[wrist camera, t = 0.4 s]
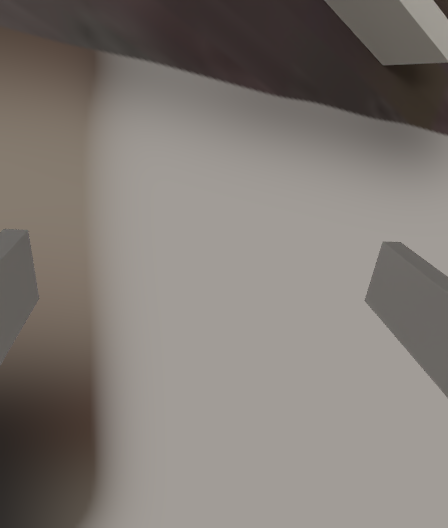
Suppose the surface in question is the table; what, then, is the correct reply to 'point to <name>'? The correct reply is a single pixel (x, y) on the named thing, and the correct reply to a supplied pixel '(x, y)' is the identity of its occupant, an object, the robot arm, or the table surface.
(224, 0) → the table surface
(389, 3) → the pale wall board
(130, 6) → the table surface
